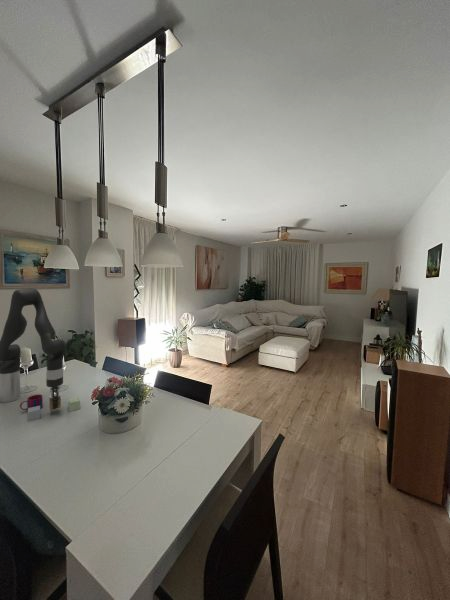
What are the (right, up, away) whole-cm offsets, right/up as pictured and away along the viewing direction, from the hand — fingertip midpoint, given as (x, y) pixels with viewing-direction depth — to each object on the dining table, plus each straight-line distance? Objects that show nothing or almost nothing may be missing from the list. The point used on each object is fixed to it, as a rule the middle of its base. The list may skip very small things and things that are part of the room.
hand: (55, 406), depth 132 cm
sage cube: (+7, -4, +5) cm, 10 cm away
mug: (-15, -3, +2) cm, 15 cm away
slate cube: (-7, -4, -5) cm, 10 cm away
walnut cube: (0, -1, 0) cm, 1 cm away
